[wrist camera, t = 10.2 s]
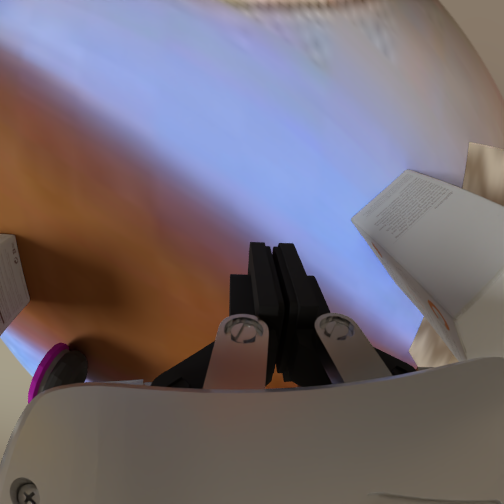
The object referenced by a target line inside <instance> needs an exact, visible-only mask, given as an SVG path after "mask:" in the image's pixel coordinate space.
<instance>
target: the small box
mask: <svg viewBox="0 0 504 504" xmlns="http://www.w3.org/2000/svg"><path fill="white" fill-rule="evenodd" d="M351 221H352V223H353V224H354V225H355V227H356V228H357V230H358V231H359V232H360V234H361V235H362V236H363V238H364V239H365V241H366V242H367V243H368V245H369V246H370V248H371V249H372V250H373V252H374V253H375V255H376V256H377V257H378V259H379V260H380V262H381V263H382V265H383V266H384V267H385V269H386V270H387V272H388V273H389V275H390V276H391V278H392V279H393V280H394V282H395V283H396V284H397V285H398V286H399V288H400V289H401V290H402V291H403V292H404V293H405V294H406V295H407V297H408V298H409V299H410V300H411V301H412V302H413V303H414V305H415V306H416V307H417V308H418V309H419V310H420V312H421V313H422V314H423V315H424V317H425V318H426V319H427V320H428V322H429V323H430V324H431V326H432V327H433V328H434V329H435V331H436V332H437V333H438V335H439V336H440V337H441V339H442V340H443V341H444V343H445V344H446V345H447V347H448V348H449V349H450V351H451V352H452V353H453V355H454V356H455V357H456V359H457V360H458V361H459V362H460V361H465V360H469V359H473V358H480V357H504V206H502V205H500V204H497V203H495V202H493V201H491V200H488V199H486V198H484V197H481V196H479V195H477V194H474V193H472V192H469V191H467V190H464V189H462V188H459V187H457V186H454V185H451V184H449V183H446V182H443V181H441V180H438V179H435V178H432V177H429V176H426V175H424V174H421V173H418V172H415V171H412V170H405V171H404V172H403V173H402V174H401V175H400V176H399V177H398V178H396V179H395V180H394V181H393V182H392V183H391V184H390V185H389V186H388V187H386V188H385V189H384V190H383V191H382V192H381V193H380V194H379V195H377V196H376V197H375V198H374V199H373V200H371V201H370V202H369V203H368V204H367V205H366V206H365V207H364V208H362V209H361V210H360V211H359V212H358V213H357V214H356V215H354V216H353V217H352V218H351Z"/></svg>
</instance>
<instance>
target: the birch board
mask: <svg viewBox="0 0 504 504" xmlns="http://www.w3.org/2000/svg"><path fill="white" fill-rule="evenodd" d="M462 189H464V190H467V191H469V192H472V193H474V194H477V195H479V196H481V197H484V198H486V199H488V200H491V201H493V202H495V203H497V204H500V205H502V206H504V150H503V149H499V148H495V147H491V146H486V145H482V144H477V143H472V142H469V148H468V156H467V163H466V170H465V176H464V182H463V187H462ZM409 353H410V354H411V356H412V358H413V359H414V361H415V362H416V364H417V366H418V367H439V366H443V365H447V364H452V363H456V362H459V361H458V360H457V359H456V357H455V356H454V355H453V353H452V352H451V351H450V349H449V348H448V347H447V345H446V344H445V343H444V341H443V340H442V339H441V337H440V336H439V335H438V333H437V332H436V331H435V329H434V328H433V327H432V326H431V324H430V323H429V322H428V320H427V319H426V318H425V317H424V318H423V320H422V323H421V325H420V327H419V330H418V332H417V334H416V336H415V339H414V341H413V343H412V345H411V347H410V349H409Z"/></svg>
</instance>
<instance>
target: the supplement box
mask: <svg viewBox="0 0 504 504" xmlns="http://www.w3.org/2000/svg"><path fill="white" fill-rule="evenodd" d="M29 302H30V297H29V294H28V290H27V286H26V282H25V278H24V274H23V270H22V266H21V262H20V257H19V252H18V248H17V243H16V238H15V235H10V234H0V336H1V334H2V333H3V332H4V331H5V329H6V328H7V327H8V326H9V325H10V324H11V322H12V321H13V320H14V319H15V318H16V316H17V315H18V314H19V313H20V312H21V311H22V310H23V308H24V307H25V306H26V305H27V304H28V303H29Z"/></svg>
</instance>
